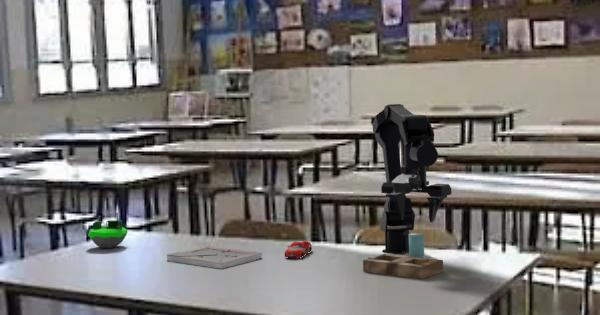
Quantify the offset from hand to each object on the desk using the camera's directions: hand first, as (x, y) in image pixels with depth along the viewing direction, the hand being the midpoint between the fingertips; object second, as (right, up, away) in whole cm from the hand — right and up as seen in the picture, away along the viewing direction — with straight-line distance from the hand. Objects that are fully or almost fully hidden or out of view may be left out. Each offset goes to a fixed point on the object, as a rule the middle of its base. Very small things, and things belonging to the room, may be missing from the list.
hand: (416, 220), depth 253 cm
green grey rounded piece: (-91, -11, +41) cm, 100 cm away
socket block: (-4, -13, -8) cm, 16 cm away
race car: (-31, -12, +19) cm, 39 cm away
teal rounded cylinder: (0, -12, +1) cm, 12 cm away
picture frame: (-55, -13, +17) cm, 59 cm away
